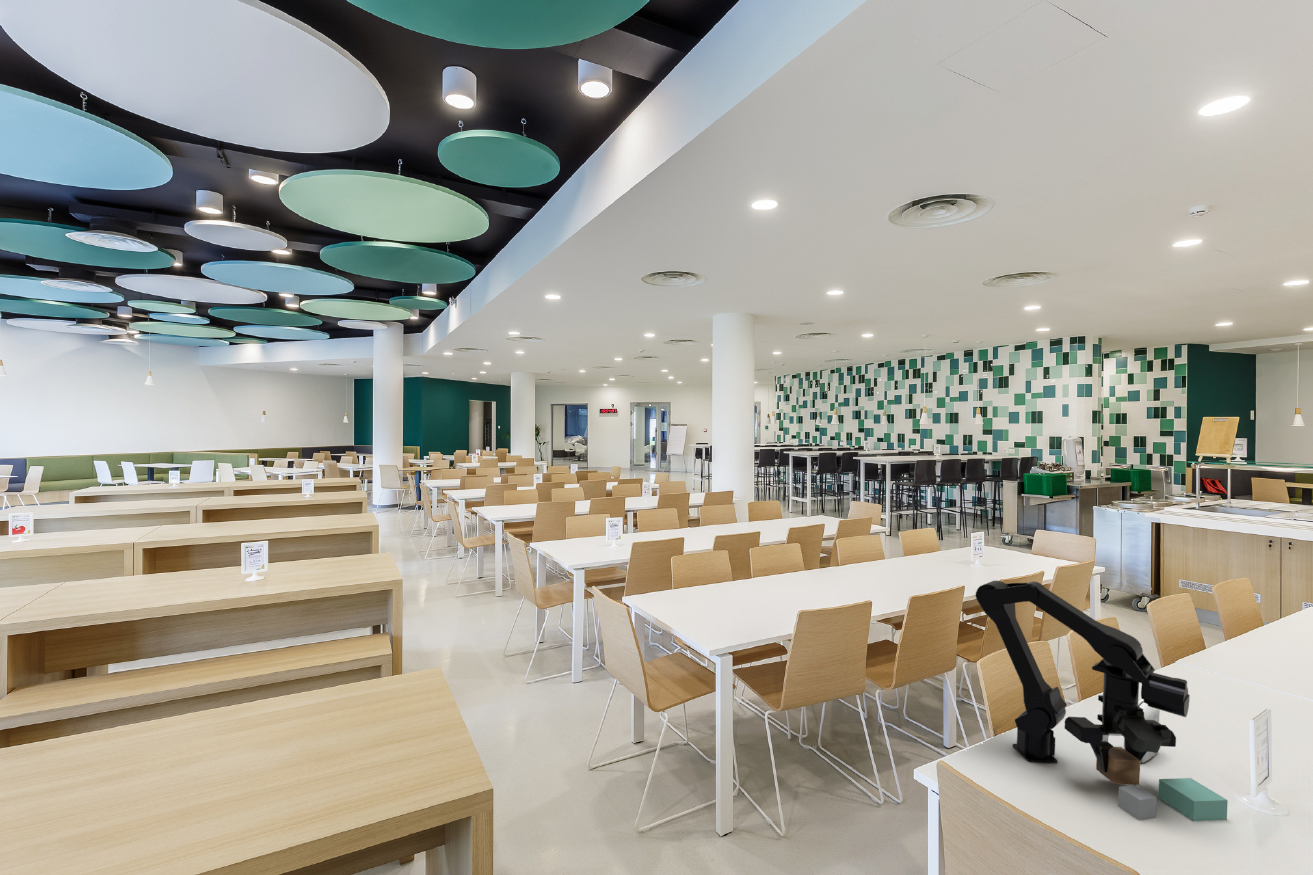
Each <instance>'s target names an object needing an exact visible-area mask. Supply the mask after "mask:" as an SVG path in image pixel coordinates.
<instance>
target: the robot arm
mask: <svg viewBox="0 0 1313 875" xmlns="http://www.w3.org/2000/svg"><path fill="white" fill-rule="evenodd" d="M975 599H976V601H977V603H978V604H979V606H980V608H981V609H982V610H983V612H984V613H985V615H986V616H987V617H988V618H989V619H990V620H991V621H992V622H993V623H994V624H995V626H996V629H997V631H998V633H999V635H1000V637H1001V640H1002V642H1003V644H1004V646H1005V649H1006V651H1007V654H1008V656H1009V658H1010V660H1011V663H1012V665H1013V667H1014V669H1015V671H1016V674H1017V676H1018V678H1019V681H1020V683H1021V685H1022V686H1021V687H1022V694H1023V695H1022V696H1023V704H1024V707H1025V710H1024V711H1023V712H1022V713H1021V714H1019V715H1018V716H1017V717H1016V718H1015V719H1014V723H1015V725H1016V728H1017V729H1016V730H1017V731H1016V743H1012V747H1013V749H1015V750H1016V751H1017V752H1018V753H1019V754H1020V755H1021V756H1022V757H1023V758H1024V759H1025V760H1026V761H1028V762H1030V763H1031V762H1035V763H1036V762H1037V763H1056V764H1057V763H1058V759H1057V758H1056V757H1055V755H1056V737H1055V736H1054V735H1055V734H1054V733H1055V731H1054V730H1053V729H1054V728H1055V727H1056V726H1058V724H1059V723H1061V721H1062V720H1064V718H1065V716H1066V714H1067V710H1066V707H1067V705H1068V704H1067V703H1066V702H1065V700H1064V699H1063V697H1062V694H1061V691H1060V688H1059V686H1055V687H1051V686H1050V685H1049V684H1048V683H1047V682H1046V681H1045V679H1044V677H1043V675H1042V672H1041V670H1040V668H1039V666H1038V664H1037V662H1036V659H1035V656H1034V655H1033V653H1032V650H1031V648H1030V646H1029V643H1028V641H1027V640H1026V637H1025V635H1024V632H1023V631H1022V629H1021V626H1020V624H1019V622H1018V620H1017V614H1016V604H1018V603H1026V602H1030V603H1031V604H1033V605H1034V606H1036V607H1037V608H1038V609H1041V610H1042V611H1043V612H1044V613H1046V614H1048V615H1049V616H1050V617H1052V618H1053V619H1055V620H1056V621H1059V622H1060V624H1062V625H1064V626H1065V627H1066V628H1069V630H1071V631H1073V632H1074V633H1076V634H1077V635H1079V636H1080V637H1081V638H1083V640H1085V641H1086V642H1087V643H1088V645H1090V647H1091V648H1092V649H1093V650H1094V652H1096V653H1097V654H1098V655H1099V656H1100V657H1101V660H1100V661H1098V662H1096V663H1094V664H1093V665H1092V667H1091V669H1092V670H1093V671H1095V672H1099V673H1103V680H1102V681H1103V683H1102V684H1103V686H1102V694H1100V695H1099V694H1098V696H1097V697H1098V698H1097V700H1098V701H1099V702H1101V703H1102V707H1101V708H1102V711H1101V713H1100V714H1097V720H1098V721H1099V722H1101V724H1095V723H1094V722H1092V721H1091V720H1090V719H1088V718H1087V717H1082V716H1067V718H1065V720H1064V728H1063V729H1065V730H1066V731H1067V733H1069V734H1071V735H1072V736H1074V737H1075V738H1076V739H1077V740H1078V741H1080V742H1082V743H1085V744H1090V747H1091V749H1092V751H1093V753H1094V756H1095V758H1096V761H1097V760H1098V763H1099V765H1100V767H1101V769H1102V771H1104V772H1107V769H1108V756H1109V749H1111V748H1112V747H1114V745H1113V744H1112V743H1110V742H1109V736H1115V737H1116V736H1119V737H1120V736H1121V737H1122V736H1123V742H1124V741H1125V750H1126V751H1128V752H1129V753H1130V754H1132V755H1133V756H1135V757H1136V758H1137V759H1139V760H1140V762H1141V760H1142V758H1143V757H1144V755H1145V754H1146V753H1147V752H1153V753H1156V754H1157V753H1159V752H1160V749H1161V747H1171V748H1172V747H1174V748H1176V746H1177V736H1176V735H1175V733H1174V731H1173V730H1171V729H1170V728H1169V727H1168V726H1167V725H1166V724H1161V723H1160V722H1159V723H1158V722H1157V721H1155V720H1145V718H1144V712H1143V709H1142V708H1140V707H1139V706H1138V700H1139V698H1140V699H1144V703H1146V704H1148V706H1149V707H1152V708H1156V709H1159V711H1163V712H1167V713H1169V714H1173V715H1176V716H1179V717H1183V718H1187V716H1188V713H1189V707H1190V696H1191V695H1190V694H1189V688H1188V687H1189V686H1188V681H1187V680H1186V679H1184V678H1183V679H1182V678H1179V677H1178V678H1177V677H1171V676H1168V675H1163V674H1160V673H1156V672H1155V667H1153V665H1152V663H1151V662H1150V661H1149V660H1148V659H1147V657H1146V656H1145V654H1144V653H1143V652H1144V650H1143V647H1142V644H1141V643H1140V641H1139V640H1138V639H1137V638H1135V637H1134V636H1132V635H1131V634H1128V633H1126V632H1124V631H1122V630H1120V629H1118V628H1116V627H1112V626H1110V625H1106V624H1105V623H1101V622H1099V621H1097V620H1095V619H1094V618H1092V617H1090V616H1089V615H1088V614H1087V613H1085V612H1083V611H1081V610H1080V609H1078V608H1077V607H1075V606H1074V605H1072V604H1071V603H1069V602H1068V601H1066V600H1065V599H1063V598H1062V597H1060V596H1059V595H1057V594H1055V593H1053V592H1052V591H1051V590H1049V589H1048V588H1046V587H1045V586H1044V585H1043V584H1042V583H1040V582H1037V581H1035V580H1034V581H1030V582H1009V583H1007V582H1006V583H1005V582H1003V581H1002V580H992V581H990V582H989V581H988V582H987V583H984V584H981V585H980V586H978V588H977V589H976V591H975ZM1140 684H1141V688H1140ZM1139 690H1140V691H1139ZM1139 692H1140V693H1139ZM1139 696H1140V697H1139ZM1141 763H1142V762H1141Z"/></svg>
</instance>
